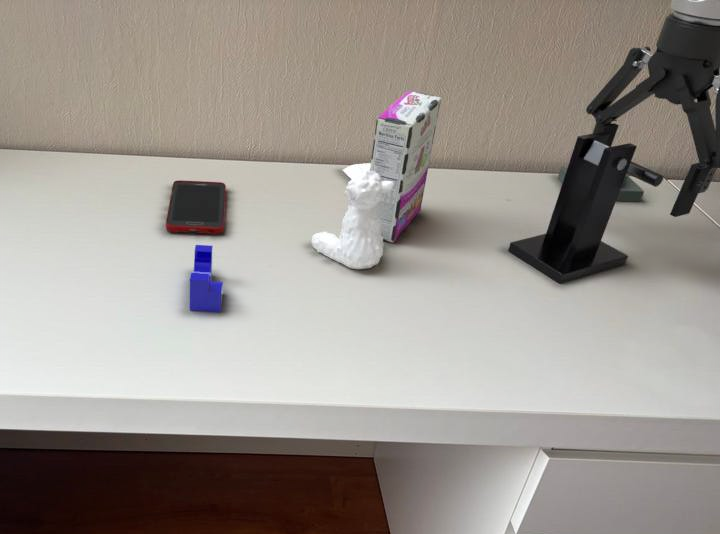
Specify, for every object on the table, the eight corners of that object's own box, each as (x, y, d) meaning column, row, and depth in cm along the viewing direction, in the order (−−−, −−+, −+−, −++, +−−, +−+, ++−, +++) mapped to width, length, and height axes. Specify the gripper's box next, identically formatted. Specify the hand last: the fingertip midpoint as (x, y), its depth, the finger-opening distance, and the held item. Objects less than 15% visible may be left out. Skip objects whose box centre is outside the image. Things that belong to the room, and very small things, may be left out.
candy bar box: (387, 202, 109) (407, 89, 98) (420, 211, 107) (444, 96, 96) (358, 234, 101) (375, 114, 91) (392, 244, 99) (415, 123, 89)
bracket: (571, 234, 104) (611, 122, 94) (625, 264, 98) (673, 147, 88) (507, 251, 99) (542, 134, 90) (559, 283, 93) (602, 162, 83)
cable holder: (220, 312, 84) (221, 281, 82) (189, 310, 84) (189, 279, 82) (224, 275, 91) (225, 246, 88) (195, 274, 91) (195, 244, 88)
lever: (623, 176, 98) (634, 158, 97) (656, 191, 95) (667, 173, 94) (574, 154, 91) (585, 135, 90) (607, 170, 88) (618, 150, 87)
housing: (618, 180, 120) (626, 159, 118) (640, 201, 114) (649, 180, 112) (557, 177, 120) (564, 156, 118) (575, 199, 113) (583, 177, 111)
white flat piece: (383, 212, 106) (384, 205, 106) (342, 171, 118) (343, 164, 117) (415, 209, 108) (416, 202, 107) (372, 168, 119) (372, 161, 118)
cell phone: (165, 232, 98) (164, 225, 98) (173, 185, 110) (173, 179, 110) (223, 235, 99) (223, 228, 98) (225, 188, 110) (226, 182, 110)
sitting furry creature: (375, 238, 100) (390, 152, 93) (403, 270, 94) (422, 180, 86) (309, 245, 98) (319, 157, 91) (333, 278, 91) (346, 186, 84)
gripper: (593, -5, 92) (542, 160, 104) (791, 49, 74) (700, 239, 87) (634, -8, 95) (579, 153, 107) (834, 43, 77) (740, 228, 90)
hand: (633, 192), depth 97 cm, fingers open, 13 cm apart
